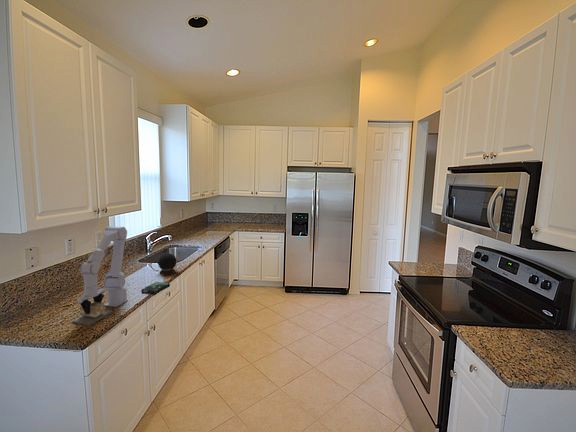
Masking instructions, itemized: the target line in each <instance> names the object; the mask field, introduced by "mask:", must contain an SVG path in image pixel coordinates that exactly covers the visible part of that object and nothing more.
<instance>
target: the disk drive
mask: <svg viewBox="0 0 576 432" xmlns="http://www.w3.org/2000/svg"><path fill="white" fill-rule="evenodd" d="M170 287H171V284H170V282H161V281H155V282H153V283H151V284H150V285H147V286H145V287H144V288H141V289H140V290H141V293H142V294H150V295H157V294H159V293H161V292H162V291H164V290H166V289H168V288H170Z"/></svg>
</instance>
